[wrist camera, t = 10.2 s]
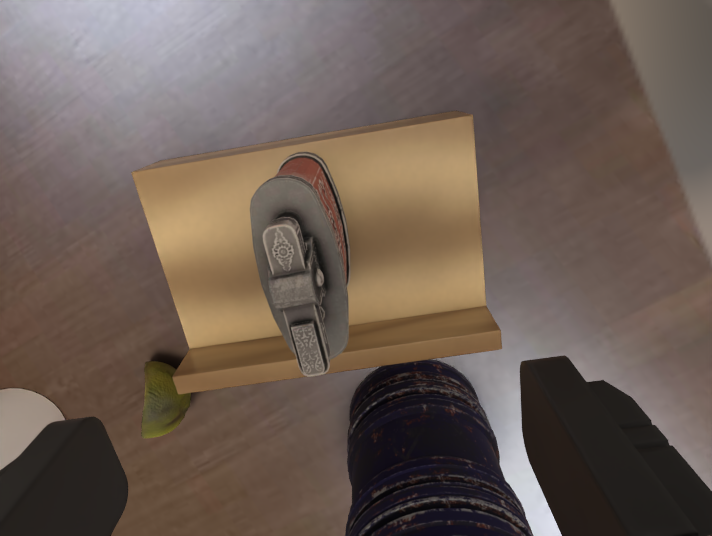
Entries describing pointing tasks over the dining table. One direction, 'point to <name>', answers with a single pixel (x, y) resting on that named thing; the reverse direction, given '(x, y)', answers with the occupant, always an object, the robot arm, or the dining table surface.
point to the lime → (162, 401)
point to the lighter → (304, 259)
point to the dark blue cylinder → (426, 458)
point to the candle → (22, 420)
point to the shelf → (367, 250)
